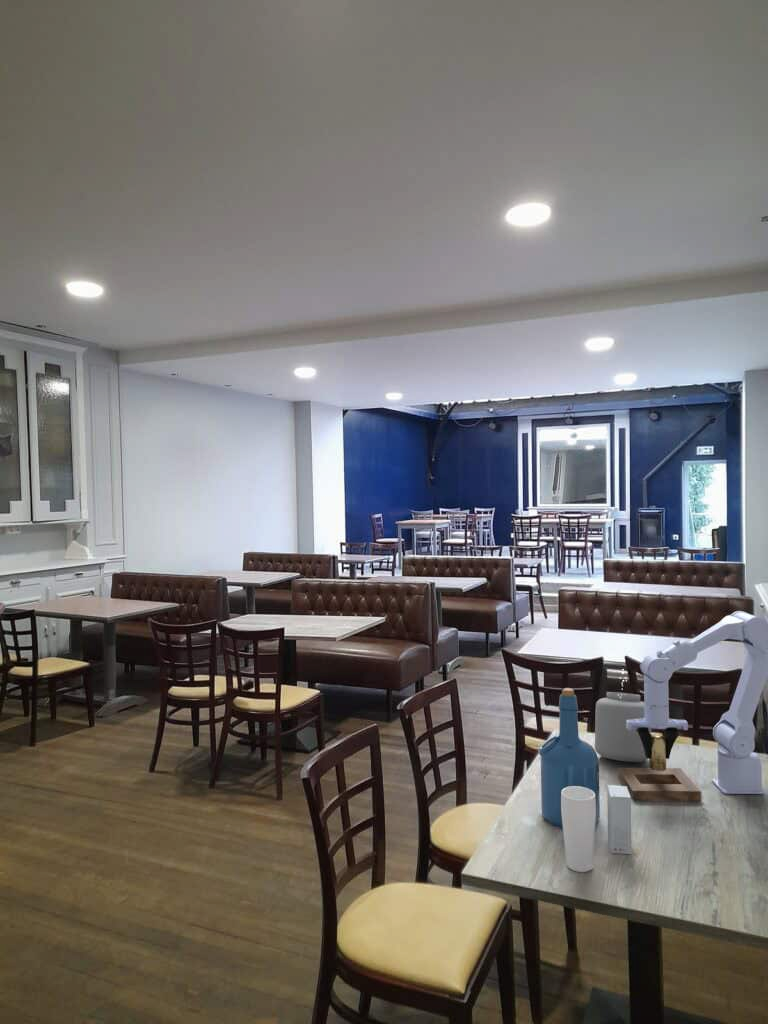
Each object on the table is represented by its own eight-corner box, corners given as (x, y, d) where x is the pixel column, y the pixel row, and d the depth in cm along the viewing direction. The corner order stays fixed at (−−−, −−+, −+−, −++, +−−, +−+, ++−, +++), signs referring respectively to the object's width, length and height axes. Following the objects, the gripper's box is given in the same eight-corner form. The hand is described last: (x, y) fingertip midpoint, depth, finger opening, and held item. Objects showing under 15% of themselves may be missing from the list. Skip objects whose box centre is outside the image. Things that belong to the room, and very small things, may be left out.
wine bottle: (603, 810, 162) (601, 684, 162) (595, 836, 150) (593, 700, 150) (545, 800, 168) (543, 679, 167) (533, 825, 156) (531, 694, 155)
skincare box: (632, 855, 142) (631, 797, 142) (610, 853, 143) (609, 796, 143) (628, 840, 148) (627, 785, 148) (607, 839, 149) (606, 784, 149)
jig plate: (680, 777, 180) (680, 768, 180) (701, 801, 166) (701, 791, 166) (617, 777, 181) (617, 767, 181) (633, 800, 167) (633, 790, 167)
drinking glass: (557, 858, 142) (556, 786, 141) (589, 856, 142) (588, 784, 142) (569, 876, 135) (567, 801, 135) (602, 874, 135) (601, 799, 135)
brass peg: (662, 764, 175) (662, 733, 175) (669, 770, 171) (668, 739, 171) (646, 764, 175) (646, 733, 175) (653, 771, 171) (652, 739, 171)
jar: (602, 743, 205) (601, 660, 205) (655, 751, 199) (654, 665, 198) (590, 766, 189) (588, 676, 188) (647, 775, 182) (646, 681, 181)
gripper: (631, 708, 169) (632, 763, 170) (692, 708, 168) (692, 763, 169) (623, 700, 176) (624, 752, 177) (681, 700, 175) (682, 752, 176)
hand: (657, 757), depth 173 cm, fingers closed on brass peg, 4 cm apart
